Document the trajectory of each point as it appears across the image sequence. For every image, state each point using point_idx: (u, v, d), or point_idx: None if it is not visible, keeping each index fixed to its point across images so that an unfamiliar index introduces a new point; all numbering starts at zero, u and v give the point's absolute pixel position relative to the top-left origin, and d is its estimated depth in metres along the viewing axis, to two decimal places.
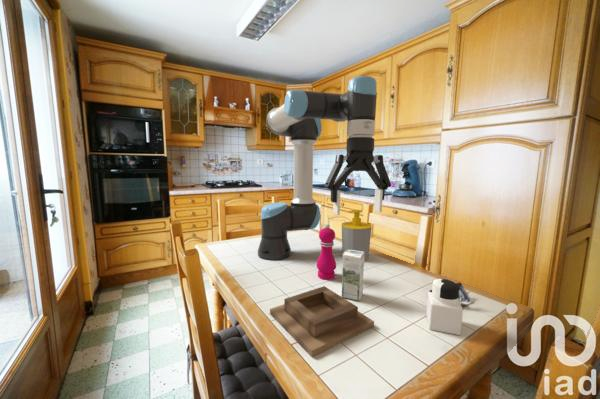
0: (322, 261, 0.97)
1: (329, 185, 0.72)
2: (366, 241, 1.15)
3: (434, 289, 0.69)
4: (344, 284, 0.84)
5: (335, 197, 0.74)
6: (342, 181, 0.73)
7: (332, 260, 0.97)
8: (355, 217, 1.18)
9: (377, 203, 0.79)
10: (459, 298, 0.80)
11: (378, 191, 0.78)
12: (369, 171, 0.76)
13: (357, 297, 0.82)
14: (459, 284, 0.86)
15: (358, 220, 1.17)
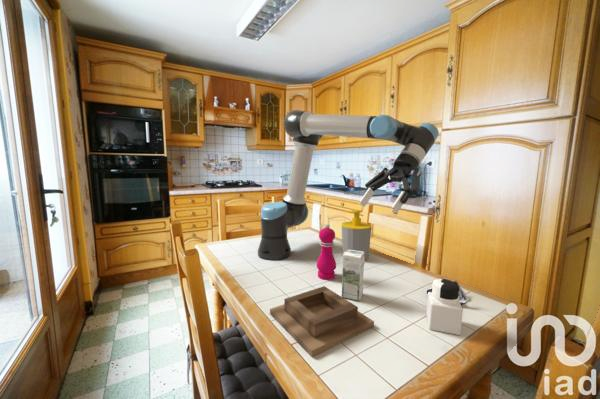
0: (322, 261, 0.97)
1: None
2: (366, 241, 1.15)
3: (434, 289, 0.69)
4: (344, 284, 0.84)
5: None
6: None
7: (332, 260, 0.97)
8: (355, 217, 1.18)
9: (366, 199, 0.93)
10: None
11: (372, 192, 0.94)
12: (388, 180, 0.93)
13: (357, 297, 0.82)
14: None
15: (358, 220, 1.17)
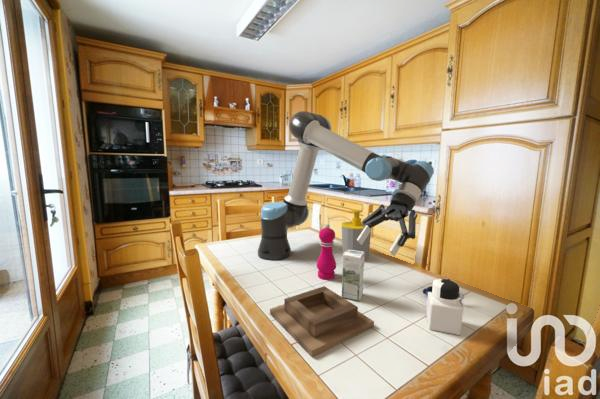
0: (322, 261, 0.97)
1: None
2: (366, 241, 1.15)
3: (434, 289, 0.69)
4: (344, 284, 0.84)
5: None
6: None
7: (332, 260, 0.97)
8: (355, 217, 1.18)
9: (364, 237, 0.94)
10: None
11: (369, 229, 0.95)
12: (385, 218, 0.94)
13: (357, 297, 0.82)
14: None
15: (358, 220, 1.17)
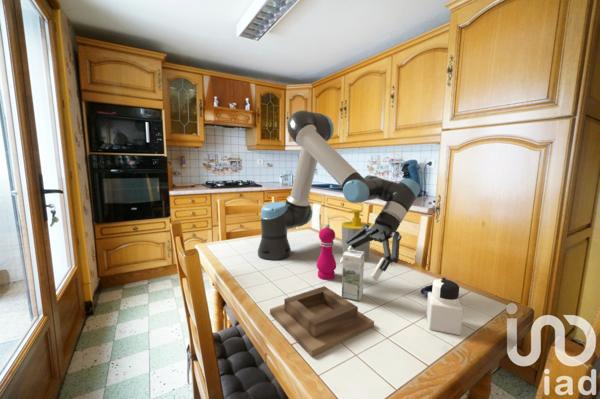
0: (322, 261, 0.97)
1: None
2: None
3: (434, 289, 0.69)
4: (344, 284, 0.84)
5: None
6: None
7: (332, 260, 0.97)
8: (355, 217, 1.18)
9: None
10: None
11: None
12: (369, 239, 0.91)
13: (357, 297, 0.82)
14: None
15: (358, 220, 1.17)
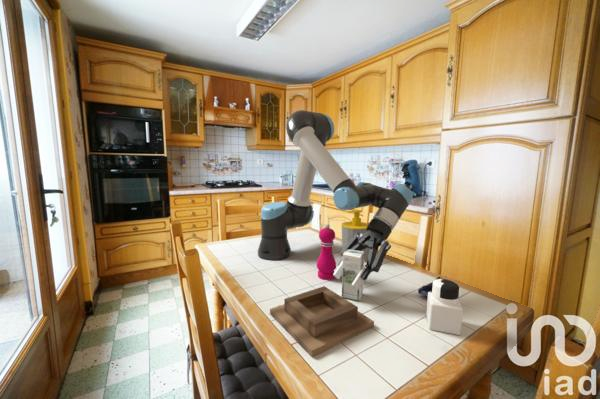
0: (322, 261, 0.97)
1: None
2: None
3: (434, 289, 0.69)
4: (344, 284, 0.84)
5: None
6: None
7: (332, 260, 0.97)
8: (355, 217, 1.18)
9: (341, 271, 0.87)
10: None
11: None
12: (362, 247, 0.89)
13: (357, 297, 0.82)
14: (439, 278, 0.90)
15: (358, 220, 1.17)
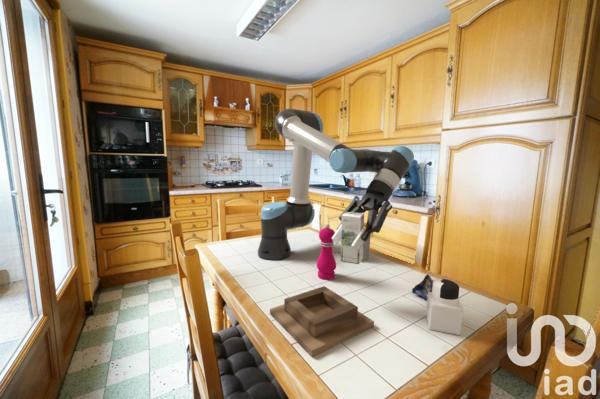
0: (322, 261, 0.97)
1: None
2: (366, 241, 1.15)
3: (434, 289, 0.69)
4: (343, 247, 0.79)
5: None
6: None
7: (332, 260, 0.97)
8: None
9: (340, 235, 0.83)
10: None
11: None
12: (362, 210, 0.85)
13: (357, 260, 0.78)
14: (427, 276, 0.92)
15: None
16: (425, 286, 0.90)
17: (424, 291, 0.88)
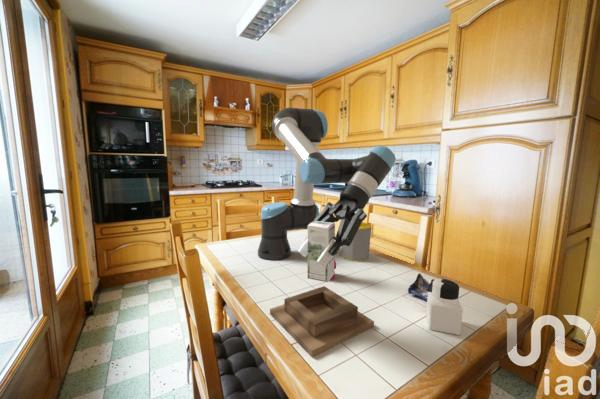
0: None
1: None
2: (366, 241, 1.15)
3: (434, 289, 0.69)
4: (309, 262, 0.69)
5: None
6: None
7: None
8: None
9: None
10: None
11: None
12: (334, 219, 0.74)
13: (325, 277, 0.68)
14: (419, 274, 0.93)
15: None
16: (418, 285, 0.91)
17: (418, 291, 0.89)
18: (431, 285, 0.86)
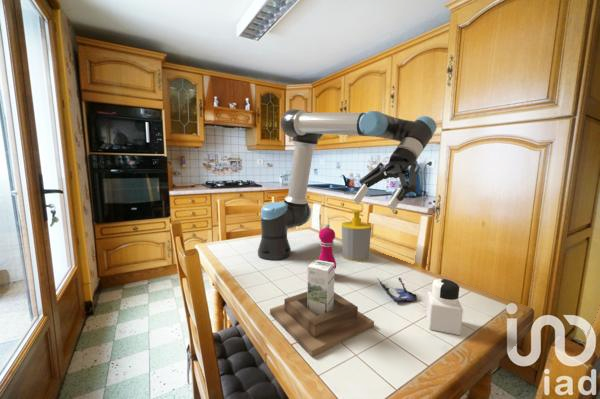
0: None
1: None
2: (366, 241, 1.15)
3: (434, 289, 0.69)
4: (309, 301, 0.70)
5: None
6: None
7: (332, 260, 0.97)
8: (355, 217, 1.18)
9: (361, 196, 0.88)
10: (402, 285, 0.88)
11: (366, 188, 0.89)
12: (384, 176, 0.88)
13: None
14: None
15: (358, 220, 1.17)
16: (384, 289, 0.88)
17: (390, 295, 0.86)
18: None
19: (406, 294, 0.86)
